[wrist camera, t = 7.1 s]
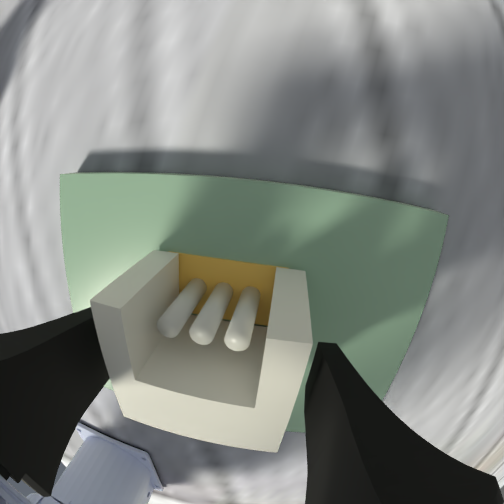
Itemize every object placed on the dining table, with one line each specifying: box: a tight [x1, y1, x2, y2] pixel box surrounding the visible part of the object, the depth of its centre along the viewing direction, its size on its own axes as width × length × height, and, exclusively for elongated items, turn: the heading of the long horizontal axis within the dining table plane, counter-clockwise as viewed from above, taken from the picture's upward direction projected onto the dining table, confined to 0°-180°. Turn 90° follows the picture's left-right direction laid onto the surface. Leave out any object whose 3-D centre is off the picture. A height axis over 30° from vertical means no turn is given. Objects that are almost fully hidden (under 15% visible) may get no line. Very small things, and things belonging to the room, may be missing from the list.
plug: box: [90, 250, 313, 453], centre depth 9 cm, size 5×6×4 cm
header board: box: [60, 172, 449, 433], centre depth 10 cm, size 12×16×4 cm
